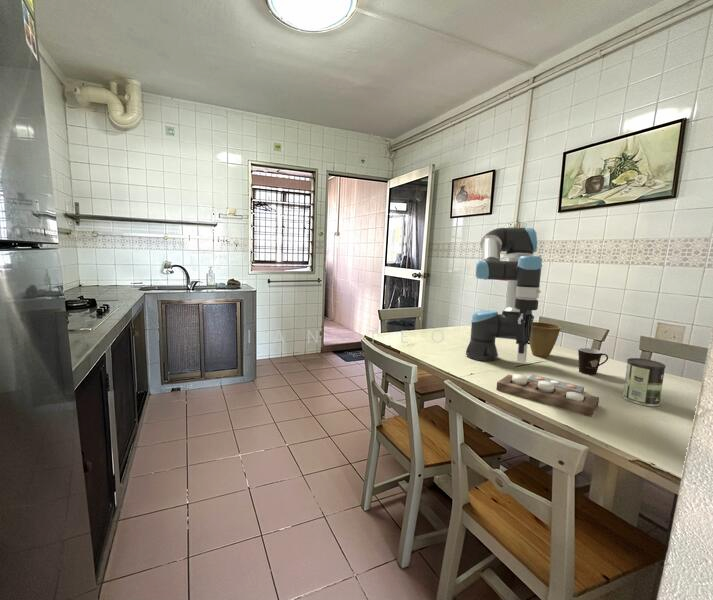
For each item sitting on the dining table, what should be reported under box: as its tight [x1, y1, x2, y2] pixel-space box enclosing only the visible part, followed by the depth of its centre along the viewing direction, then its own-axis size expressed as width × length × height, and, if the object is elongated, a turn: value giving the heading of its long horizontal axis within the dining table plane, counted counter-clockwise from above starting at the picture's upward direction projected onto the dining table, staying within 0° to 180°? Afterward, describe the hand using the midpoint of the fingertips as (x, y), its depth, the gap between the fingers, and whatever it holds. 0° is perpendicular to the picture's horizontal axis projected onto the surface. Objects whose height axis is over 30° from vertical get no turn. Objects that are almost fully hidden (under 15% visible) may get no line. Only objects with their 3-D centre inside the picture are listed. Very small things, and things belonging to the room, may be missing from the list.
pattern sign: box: [527, 374, 585, 394], centre depth 130 cm, size 18×7×2 cm, turn 46°
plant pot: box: [529, 321, 562, 358], centre depth 172 cm, size 15×15×16 cm
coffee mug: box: [577, 347, 609, 376], centre depth 146 cm, size 12×9×10 cm
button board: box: [496, 374, 600, 418], centre depth 120 cm, size 30×12×3 cm, turn 46°
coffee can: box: [622, 357, 666, 407], centre depth 119 cm, size 10×10×14 cm
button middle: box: [538, 381, 554, 393], centre depth 120 cm, size 5×5×2 cm
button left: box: [511, 373, 528, 385], centre depth 126 cm, size 5×5×2 cm
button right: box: [566, 392, 584, 402], centre depth 114 cm, size 5×5×2 cm
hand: (521, 361), depth 125 cm, fingers closed
